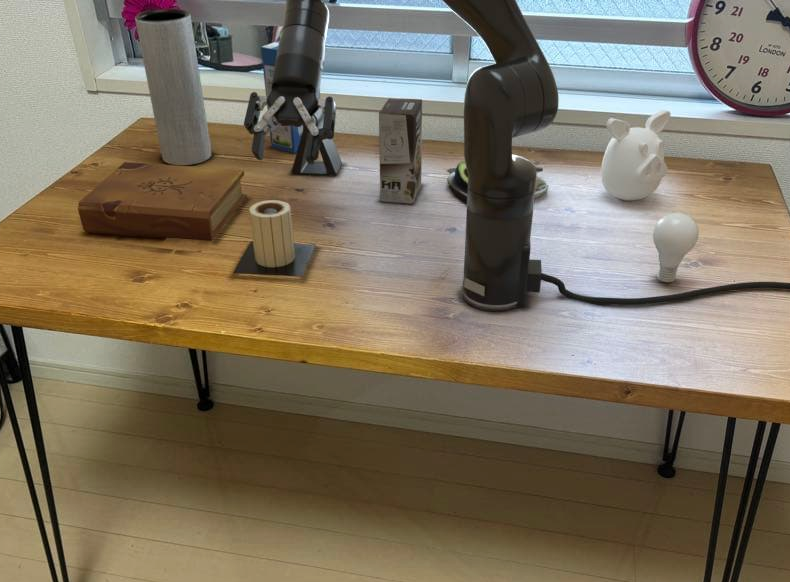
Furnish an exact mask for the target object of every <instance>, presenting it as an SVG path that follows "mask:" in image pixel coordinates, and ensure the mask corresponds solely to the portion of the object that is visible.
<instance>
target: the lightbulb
mask: <svg viewBox="0 0 790 582" xmlns="http://www.w3.org/2000/svg"><path fill="white" fill-rule="evenodd" d="M698 238H699V226H698V224H697V222H696V220H695V219H694V217H692V216H690V215H689V214H687V213H685V212H679V211H676V212H670V213H667V214H665V215H664V216H662V217H661V218H660V219H659V220H658V221H657V223H656V224H655V226H654V228H653V231H652V240H653V245H654V246H655V248H656V250H657V254H658V261H659V266H658V271H657V274H656V278H657V279H658V280H659V281H661V282H662V283H665V284H666V283H672V282H673V281H676V277H677V272H678V269H679V268H678V267H679V266H680V264H681V263H682V261H683V259H684V258H685V256H686V255H687V254H689V253H690V252H691V251H692V249H694V247H696V244H697V242H698V241H699V239H698Z"/></svg>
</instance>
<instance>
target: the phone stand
mask: <svg viewBox="0 0 790 582" xmlns="http://www.w3.org/2000/svg"><path fill="white" fill-rule="evenodd" d="M314 117H315V118H314ZM311 118H312V120H313V122H314V124H315V125H316V127H317V129H320V128H323V121H324V114H323V112H322V110H321V108H319V109H318V111H317V112H316V113H315V114H314V115H313V116H312V117H311ZM309 136H311V132H310V131H309V129H308V127H307V126H306V124H304V125H303V132H302V135H301V139H300V143H299V146H298V150H297V152H296V153H295V157H294V161H293V163H292V169H291V174H292V175H299V176H300V175H303V176H323V177H324V176H325V177H336V176H337V174H338V173H339V171H340V169H341V166H342V164H343V161H342V159H341V157H340V155H339V151H338V149H337V146H336V144H335V142H334V138H332V139H324V140H322V141H321V143H320V149H319V154H320V156H321V159H322V161H314V164H309V163H308V162H307V160H306V154H307V147H308V141H309Z"/></svg>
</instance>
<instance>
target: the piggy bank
mask: <svg viewBox="0 0 790 582" xmlns="http://www.w3.org/2000/svg"><path fill="white" fill-rule="evenodd" d="M670 119H671V111H669V110H667V109H661V110H660V111H658V112H655V113H654V114H652V115H651V116H649V117H648V118H647V120H646V121H645V127H638V126H636V127H631V125H630V124H629V122H627V121H625V120H622V119H618V118H614V117H610V118H608V119H607V122H606V131H607V134H608V135H609V136H610V137H611V139H610V140H609V142H608V145H607V147H606V149H605V152H604V154H603V158H602V162H601V166H600V179H601V183H602V187H604V190H606V192H607V193H608V194H610V195H611V196H613V197H615V198H616V199H619V200H622V201H623V200H624V201H638V200H642V199H644V198H646V197H648V196H649V197H650V195H652V194H653V193H654V192H656V190H657V189H658V188H659V186H660V184H661V182H662V180H663V178H664V177H665V176H666V175H667V172H668V166H667V163H666V162H665V151H664V145H665V143H664V140H662V139H661V138H660V137H659V135H658V134H660V133H661V132H663V130H665V128H666V127H667V125H668V124H669V121H670Z"/></svg>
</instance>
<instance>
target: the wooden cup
mask: <svg viewBox="0 0 790 582" xmlns="http://www.w3.org/2000/svg"><path fill="white" fill-rule="evenodd" d="M269 208H273V209H276V210H277V213H272V214H264V210H265V209H269ZM291 208H292V207H291V206H290V204H289V203H287V202H286V201H283V200H279V199H278V200H275V199H270V200H268V199H267V200H262V201H258V202H256V203H254V204H252V205H251V206H250V207H249V209H248V213H249V222H250V229H251V236H252V241H253V245H254V252H255V260H256V261H257V263H258V264H259V265H262V266H264V267H281V266H285V265H288V264H289V263H291V262H292V261H294V258H295V249H294V243H295V240H294V239H295V238H294V230H293V220H292V209H291Z"/></svg>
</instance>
